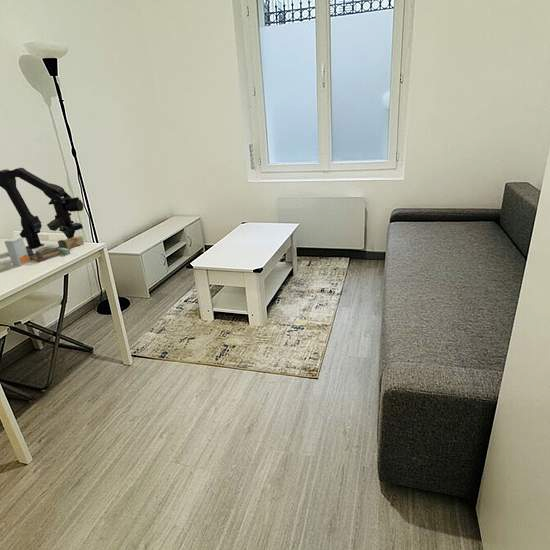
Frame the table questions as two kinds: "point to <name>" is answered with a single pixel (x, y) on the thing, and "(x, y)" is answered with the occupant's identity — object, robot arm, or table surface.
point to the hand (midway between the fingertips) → (71, 241)
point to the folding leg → (71, 242)
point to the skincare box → (17, 251)
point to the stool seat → (43, 254)
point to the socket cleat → (64, 251)
